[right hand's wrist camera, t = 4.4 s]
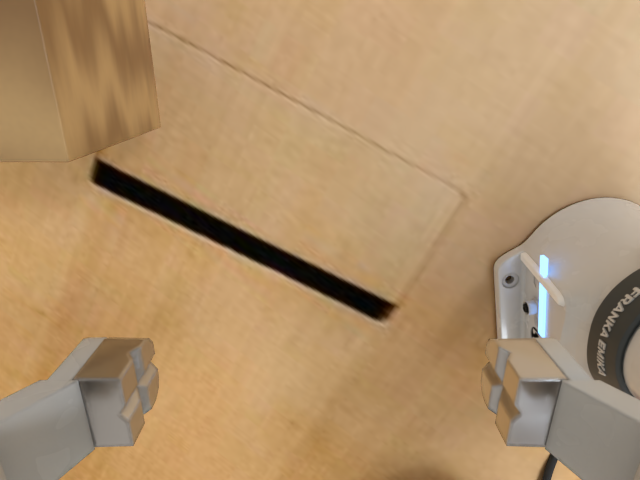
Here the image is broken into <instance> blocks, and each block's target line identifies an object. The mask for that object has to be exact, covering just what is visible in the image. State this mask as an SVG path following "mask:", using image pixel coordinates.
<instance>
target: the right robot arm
mask: <svg viewBox="0 0 640 480" xmlns="http://www.w3.org/2000/svg"><path fill="white" fill-rule="evenodd" d="M508 276H511V278H510V279H509V280H505V279H506V278H507V277H508ZM494 286H495V305H496V323H497V339H489V341H488V343H487V345H486V350H485V354H486V356H487V358H488V360H489V361H490V362H489V363H488V364H487V365H486V366H485V367H484V368H483V369H482V376H481V388H482V394H483V398H484V401H485V403H486V405H487V407H488V409H489V410H491V411H492V412H494V413H495V414H496V415H497V416H496V421H495V424H496V426H497V428H498V430H499V432H500V434H501V436H502V438H503V440H504V442H505V444H506V446H526V447H545V449H546V450H547V451H548V452H549V453H551V455H550V457H549V459H548V462H547V465H546V468H545V471H544V474H543V478H542V480H551V477H552V474H553V471H554V468H555V465H556V463H557V460H559V461H560V462H561V463H563V464H564V465H565V466H566V467H567V468H569V469H570V470H571V471H572V472H573V473H574V474H576V475H577V476H578V477H579V478H580V479H582V480H640V205H638V204H636V203H633V202H631V201H628V200H624V199H619V198H608V197H606V198H594V199H589V200H584V201H581V202H578V203H575V204H572V205H570V206H568V207H566V208H564V209H562V210H560V211H558V212H557V213H555V214H554V215H552V216H551V217H550V218H548V219H547V220H546V221H545V222H543V223H542V224H541V225H540V226H539V227H538V228H537V229H536V230H535V231H534V232H533V234H532V235H531V236H530V237H529V238H528V239H527V240H526V241H525V242H524V243H523V244H521V245H520V246H518V247H516V248H514V249H512V250H511V251H509V252H507V253H505V254H504V255H502V256H501V257H500V258H498V259H497V261H496V262H495V264H494ZM154 354H155V351H154V346H153V342H152V341H151V340H150V339H149V338H111V337H109V338H107V337H88V338H85V339H83V340H82V341H81V342H80V343H79V344H78V345H77V347H76V348H75V349H74V350H73V351H72V352H71V353H70V355H69V356H68V357H67V358H66V359H65V360H64V361H63V363H62V364H61V365H60V366H59V367H58V368H57V369H56V370H55V372H54V373H53V374H52V375H51V376H50V377H49V378H48V380H40V381H38V382H36V383H33V384H31V385H29V386H27V387H25V388H23V389H21V390H19V391H17V392H15V393H13V394H11V395H9V396H7V397H5V398H3V399H1V400H0V480H58V479H60V478H61V477H62V476H63V475H64V474H66V473H67V472H68V471H69V470H70V469H72V468H73V467H74V466H75V465H76V464H78V463H79V462H80V461H81V460H82V459H84V458H85V457H86V456H87V455H88V454H90V453H91V452H92V451H93V450H94V449H95V447H113V446H134V444H135V442H136V440H137V438H138V436H139V434H140V432H141V430H142V428H143V426H144V424H145V421H144V416H143V415H144V414H145V413H146V412H148V411H149V410H151V409H152V407H153V405H154V403H155V401H156V398H157V393H158V389H159V375H158V369H157V368H156V367H155V366H154V365H153V364H152V363H151V362H150V361H151V360H152V358H153V356H154Z"/></svg>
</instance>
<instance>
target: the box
mask: <svg viewBox="0 0 640 480" xmlns="http://www.w3.org/2000/svg"><path fill="white" fill-rule="evenodd" d="M160 127H161V125H160V117H159V109H158V101H157V94H156V86H155V78H154V70H153V63H152V55H151V47H150V39H149V31H148V24H147V16H146V8H145V0H0V162H70V161H73V160H75V159H78V158H81V157H83V156H86V155H89V154H91V153H94V152H96V151H99V150H102V149H104V148H107V147H110V146H112V145H115V144H118V143H120V142H123V141H126V140H128V139H131V138H133V137H136V136H139V135H141V134H144V133H147V132H149V131H152V130H155V129H157V128H160Z"/></svg>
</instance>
